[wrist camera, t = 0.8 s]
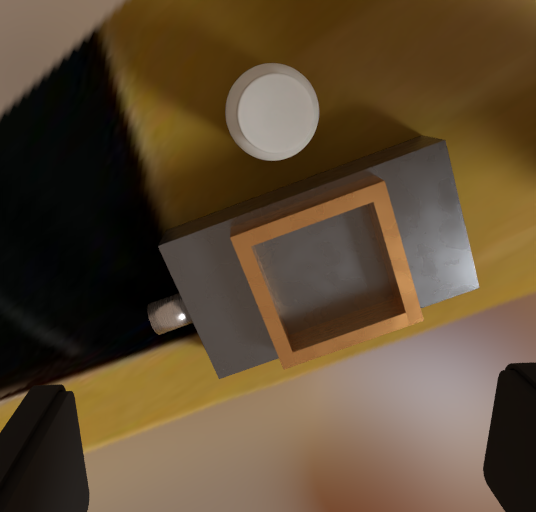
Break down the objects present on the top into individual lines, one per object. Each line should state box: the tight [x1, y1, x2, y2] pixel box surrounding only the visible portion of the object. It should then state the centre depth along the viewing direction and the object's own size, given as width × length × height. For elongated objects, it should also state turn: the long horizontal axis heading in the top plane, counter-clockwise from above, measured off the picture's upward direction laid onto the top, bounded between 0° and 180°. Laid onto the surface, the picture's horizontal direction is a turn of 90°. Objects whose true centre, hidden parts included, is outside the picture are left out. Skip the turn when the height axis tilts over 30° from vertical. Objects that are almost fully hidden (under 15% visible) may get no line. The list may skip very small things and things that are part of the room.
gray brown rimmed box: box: [147, 135, 479, 379], centre depth 34 cm, size 23×11×6 cm, turn 110°
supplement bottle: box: [225, 63, 319, 161], centre depth 29 cm, size 5×5×10 cm
